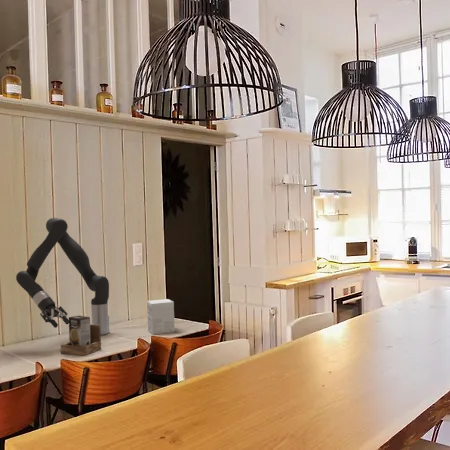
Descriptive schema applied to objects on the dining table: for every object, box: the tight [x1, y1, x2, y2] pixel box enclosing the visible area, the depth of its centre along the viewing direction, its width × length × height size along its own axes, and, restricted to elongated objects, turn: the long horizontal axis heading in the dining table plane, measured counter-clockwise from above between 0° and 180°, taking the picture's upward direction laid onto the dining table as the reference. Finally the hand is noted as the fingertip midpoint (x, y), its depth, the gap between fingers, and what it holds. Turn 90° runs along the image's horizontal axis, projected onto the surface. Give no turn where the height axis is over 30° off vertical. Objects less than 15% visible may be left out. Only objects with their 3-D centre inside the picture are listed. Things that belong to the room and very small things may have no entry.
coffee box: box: [68, 315, 91, 346], centre depth 242 cm, size 9×6×16 cm
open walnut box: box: [60, 324, 102, 356], centre depth 243 cm, size 13×14×12 cm
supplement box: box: [146, 298, 176, 335], centre depth 283 cm, size 13×13×18 cm
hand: (62, 324), depth 246 cm, fingers open, 8 cm apart
